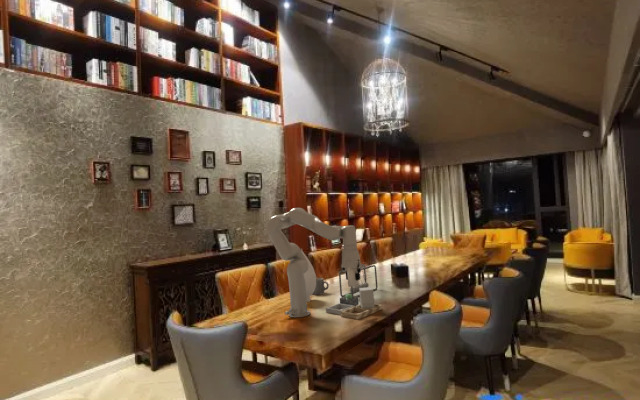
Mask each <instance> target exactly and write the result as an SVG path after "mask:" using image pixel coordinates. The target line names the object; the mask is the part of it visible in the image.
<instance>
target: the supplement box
mask: <svg viewBox="0 0 640 400" xmlns="http://www.w3.org/2000/svg"><path fill="white" fill-rule="evenodd" d="M373 289H374V288H373V287H371V286H368V287H367V288H359V291H358V292H359V293H358V294H359V295H360V296H359V303H360V304H359V305H360V306H361V308H365V309H371V308H374V307H375V306H374V304H375V295H374V294H375V293H374V291H373Z"/></svg>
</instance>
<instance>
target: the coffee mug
mask: <svg viewBox="0 0 640 400" xmlns="http://www.w3.org/2000/svg"><path fill="white" fill-rule="evenodd" d="M325 284H326V286H325ZM329 287H330V286H329V282H328V281H327V280H326V281H325V280H324V278H323V277H316V287H315V290H314V292H313V293H312V295H313V296H319V295H323V294H325V291H326V290H328V289H329ZM312 295H311V296H312Z"/></svg>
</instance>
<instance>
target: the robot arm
mask: <svg viewBox="0 0 640 400" xmlns="http://www.w3.org/2000/svg"><path fill="white" fill-rule="evenodd" d="M295 225H298V226H301V227H303V228H305V229H307V230H309V231H312V232H313V233H315V234H316V235H318V236H321V237H322V238H324V239H327V240H329V241H337V240H339V239H342V248H343V250H342V253H341V265H340V267H341V269H342V270H344V272H343V273H345V279H346V281H348V276H347V268H348V267H350V268H352V269H355V272H356V273H355V278H356V281H357V280H359V281H361V278H360V277H361V274H360V271H363V270H362V269H363V268H364V266H363V263H361V255H360V252H359V250H358V242H357V235H356V234H357V233H356V232H357V231H356V226H355V225H342V226H341V225H334V226H332V225H330V224H327V223H325V222H323V221H322V220H320V218H319V217H318V216H317V215H315V214H312V213H309V212H307V211H306V210H305V209H304V208H302V207H294V208H291V209H290V210H289V211H288V212H285V213H282V214H275V215H273V216H272V217H269V220H268V221H267V223H266V226H265V227H266V233H267V236H268V238H269V239H270V241H271V243H272V244H273V247H274V249H275V250H276V252H277V253H278V255H279V257H280V258H281V260H283V261H290V262H289V263H288V264H287V267H286V274H287V280H288V288H289V300H290V307H289V309H288V310H287V311H285V312H284V315H286V316H287V315H288V316H289V317H290V318H304V317H308V316H310V314H311V311H310V310H308V303H307V299H306V285H305V278H304V273H305V272H306V271H307V270H308V267H309V265H308V262H307V260H306V258H305V256H304V255H303V253H304V252H303V253H302V251H303V250H302V249H301V248H300V246H298V244H296V243H294V242H289V240H288V237H286V234H285V233H283V231H282V230H283V229H286V228H289V227H292V226H295Z"/></svg>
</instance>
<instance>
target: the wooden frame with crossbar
mask: <svg viewBox="0 0 640 400" xmlns="http://www.w3.org/2000/svg"><path fill="white" fill-rule="evenodd" d="M374 306H375V307H374V308H371V309H365V308H361V306H360V304H359V305H357V306H355V307H352V308H350V309H347V310H344V311H342V312H341V315H340V317H341V318H349V319H353V320H361V319H362V318H365V317H367V316H370V315H372V314H374V313H376V312H379V311H381V310H383V305H382V304H378V303H374Z"/></svg>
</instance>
